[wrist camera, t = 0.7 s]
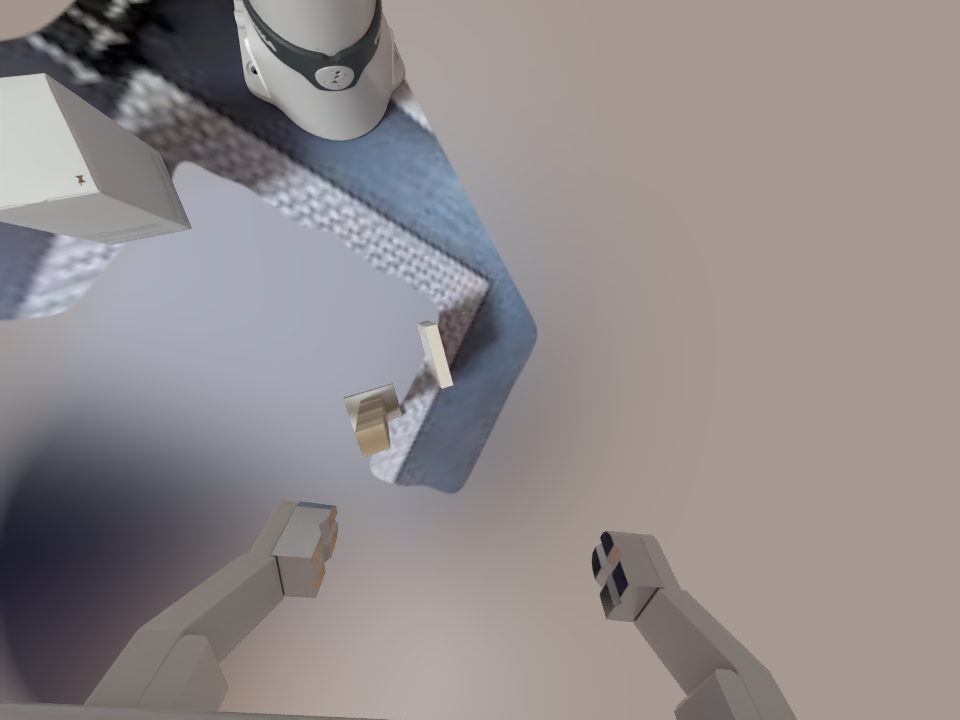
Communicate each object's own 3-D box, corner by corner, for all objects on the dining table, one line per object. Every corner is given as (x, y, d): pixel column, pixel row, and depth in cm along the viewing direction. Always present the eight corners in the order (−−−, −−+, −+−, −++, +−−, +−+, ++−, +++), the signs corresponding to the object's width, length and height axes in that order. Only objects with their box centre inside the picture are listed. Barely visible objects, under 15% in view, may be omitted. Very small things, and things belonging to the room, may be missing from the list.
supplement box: (161, 149, 41) (47, 67, 27) (194, 230, 43) (104, 193, 29) (67, 163, 39) (-111, 82, 25) (106, 246, 41) (-38, 216, 27)
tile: (416, 323, 52) (425, 327, 43) (427, 320, 52) (437, 324, 44) (431, 375, 54) (441, 388, 45) (441, 372, 54) (453, 384, 45)
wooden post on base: (343, 397, 51) (332, 430, 38) (392, 383, 52) (398, 409, 39) (354, 429, 52) (347, 471, 39) (402, 414, 53) (410, 450, 40)
